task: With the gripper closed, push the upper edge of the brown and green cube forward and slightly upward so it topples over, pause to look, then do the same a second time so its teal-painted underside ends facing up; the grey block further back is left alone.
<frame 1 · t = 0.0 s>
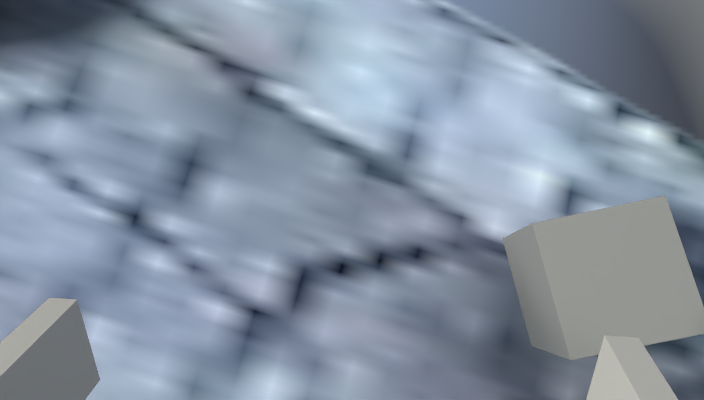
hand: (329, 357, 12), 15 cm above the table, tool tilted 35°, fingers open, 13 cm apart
grey block: (569, 280, 27), on the table
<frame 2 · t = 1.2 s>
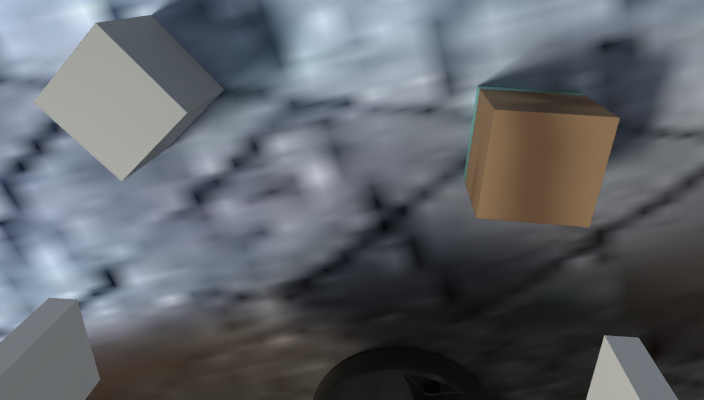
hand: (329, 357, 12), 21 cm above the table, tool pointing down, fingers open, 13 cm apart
grey block: (160, 85, 31), on the table
brown and green cube: (518, 136, 30), on the table
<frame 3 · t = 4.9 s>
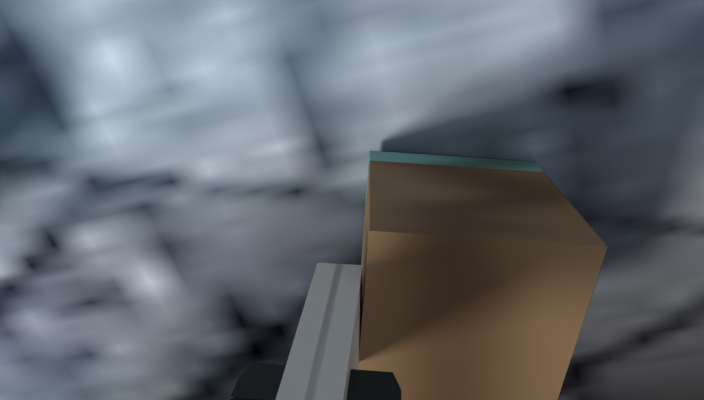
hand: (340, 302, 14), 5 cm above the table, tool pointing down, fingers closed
brown and green cube: (440, 228, 19), on the table, touching gripper
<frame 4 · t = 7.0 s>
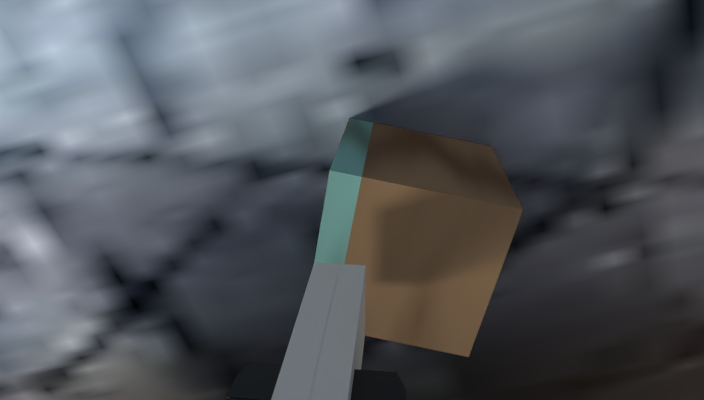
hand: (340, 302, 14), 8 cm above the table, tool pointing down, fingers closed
brown and green cube: (328, 212, 19), point 3 cm above the table, tilted 90°
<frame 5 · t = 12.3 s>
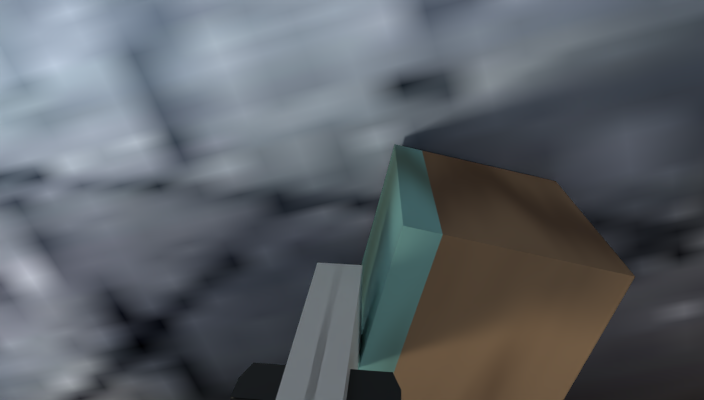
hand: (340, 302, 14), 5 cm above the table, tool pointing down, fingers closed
brown and green cube: (374, 259, 16), point 3 cm above the table, tilted 94°, touching gripper
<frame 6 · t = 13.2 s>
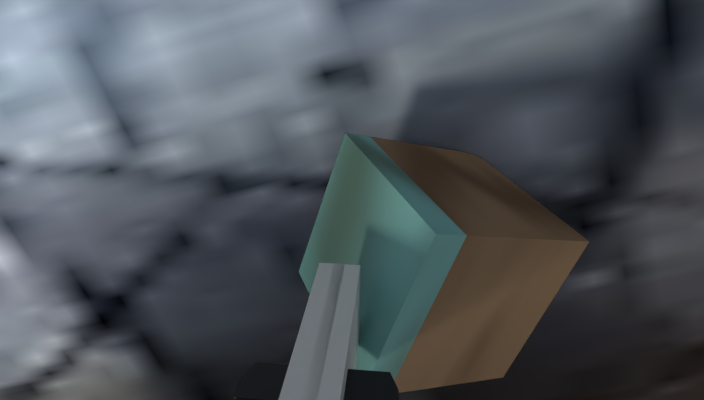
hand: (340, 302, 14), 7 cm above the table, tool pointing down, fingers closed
brown and green cube: (351, 257, 16), point 5 cm above the table, tilted 120°, touching gripper
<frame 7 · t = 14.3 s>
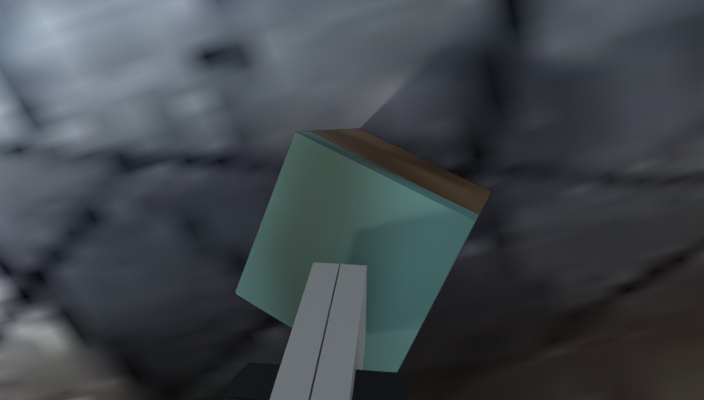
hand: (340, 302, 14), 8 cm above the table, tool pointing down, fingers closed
brown and green cube: (342, 261, 15), point 7 cm above the table, tilted 159°, touching gripper
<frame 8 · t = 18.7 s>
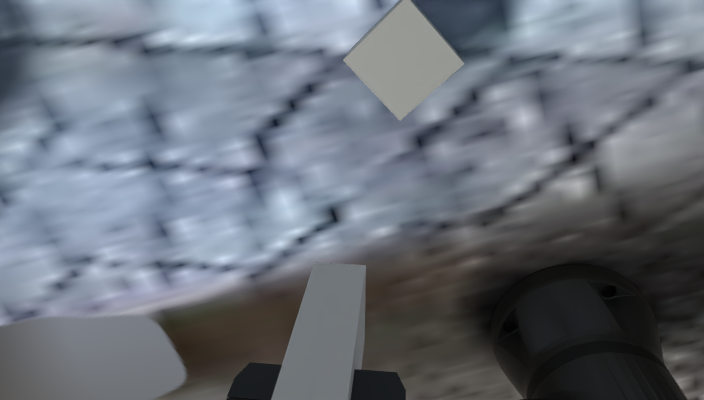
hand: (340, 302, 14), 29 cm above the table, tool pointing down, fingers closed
grey block: (403, 49, 40), on the table
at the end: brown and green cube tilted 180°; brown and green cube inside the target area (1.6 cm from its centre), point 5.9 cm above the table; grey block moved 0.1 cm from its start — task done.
